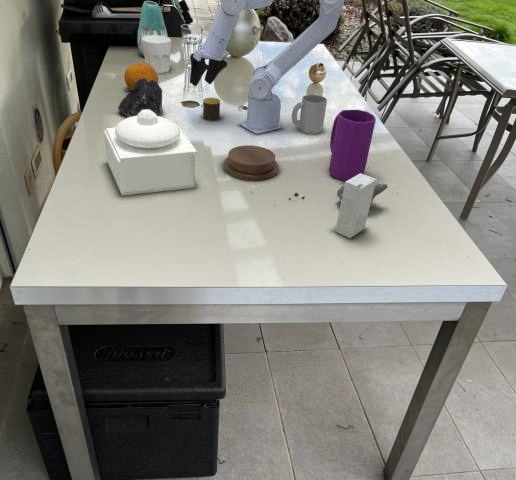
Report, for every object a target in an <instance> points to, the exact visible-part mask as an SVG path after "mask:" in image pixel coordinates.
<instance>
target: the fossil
mask: <svg viewBox="0 0 516 480" xmlns="http://www.w3.org/2000/svg"><path fill="white" fill-rule="evenodd" d="M344 186H345V184H343V185H342V186H340V187H339V189H338V190H337V192H336V196H337V198H339V200H340V201H341V200H342V196H343V191H344ZM387 189H388V185H387V183H379V182H378V183H377V182H376V184H375V188H374V192H373V196H372V200H371V204H372V203H373V201H374V199H375V198H376V197H377V196H378V195H380V194H382V193H383V192H384V191H385V190H387Z"/></svg>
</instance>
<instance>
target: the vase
mask: <svg viewBox="0 0 516 480" xmlns="http://www.w3.org/2000/svg"><path fill="white" fill-rule="evenodd" d="M140 9H141V10H140V17H139V25H138V29H137V37H136V38H137V39H136V40H137V47H138V48H137V49H138V51H139V53H140V54H141V55H142V56H143V57H144V50H143V44H142V37H144V36H150V35H158V36H165V37H168V38H169V35H168V31H167V27H166V23H165V21H164V15H163V12H162V9H161V7H160V5H159V4H158V3H157V2H156V1H152V0H144V1H143V3H142V6H141V8H140Z"/></svg>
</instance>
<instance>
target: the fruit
mask: <svg viewBox="0 0 516 480" xmlns="http://www.w3.org/2000/svg"><path fill="white" fill-rule="evenodd" d="M158 75H159V74H158V73H156V71H155V70H154V69H153V67H151V66H150V65H149V64H146V63H145V62H137V63H134V64H131V65H129V66H128V67H127V68H126V69H125V71H124V76H123V79H124V83H125V85H126V86H127V87H128V88H129V89H130V90H132V89H133V88H134V86H135V83H136V82H137V81H138V80H139V79H144V78H145V79H147V80H148V81H149V82H150V81H151V80H155V81H156V82H157V83H158V84H159V76H158Z"/></svg>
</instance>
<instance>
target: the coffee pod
mask: <svg viewBox="0 0 516 480" xmlns="http://www.w3.org/2000/svg"><path fill="white" fill-rule="evenodd" d="M202 103H203V104H202V118H203V120H207V121H211V122H213V121H218V120H220V118H221V100H220V99H219V98H217V97H205V98H203V100H202Z"/></svg>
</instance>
